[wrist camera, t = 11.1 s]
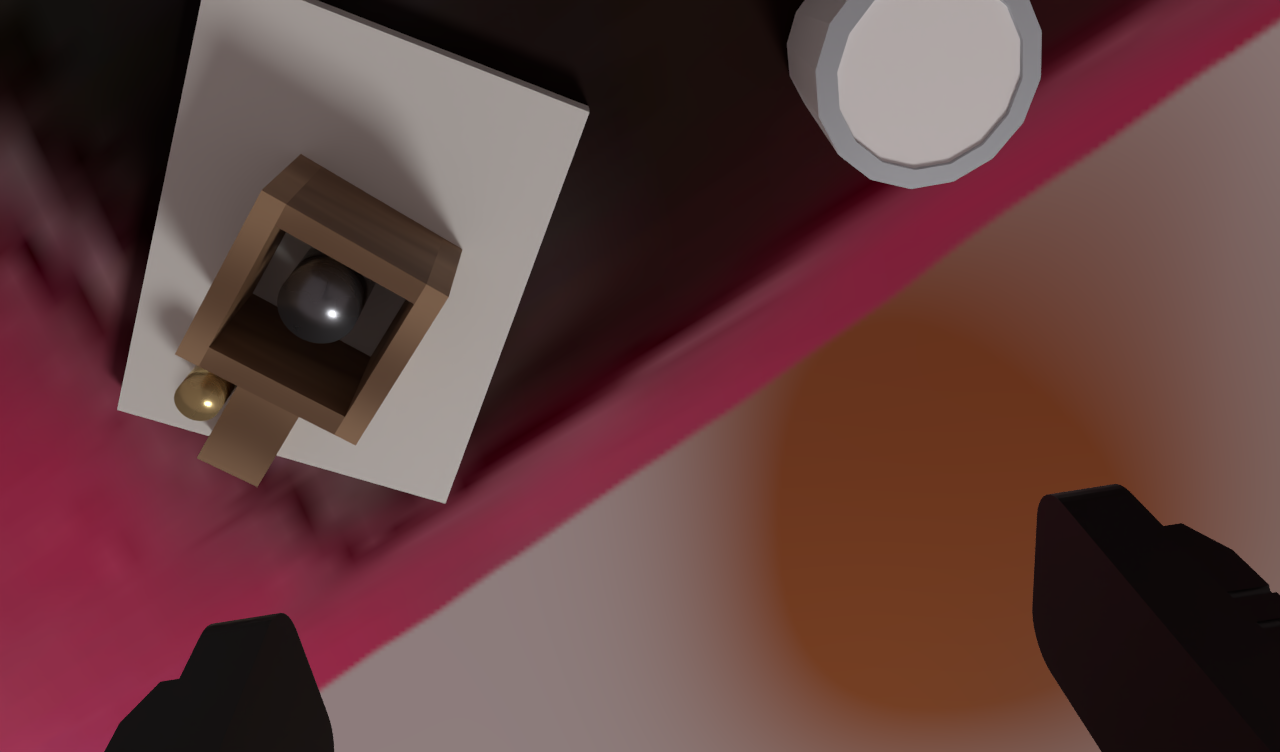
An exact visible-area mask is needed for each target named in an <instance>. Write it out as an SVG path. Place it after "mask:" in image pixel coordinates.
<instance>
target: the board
mask: <svg viewBox="0 0 1280 752" xmlns="http://www.w3.org/2000/svg"><path fill="white" fill-rule="evenodd" d="M588 115H589V107H588V106H587V105H584V104H582V103H579V102H577V101H574V100H571V99H569V98H566V97H564V96H561V95H559V94H556V93H554V92H551V91H548V90H546V89H543V88H541V87H538V86H536V85H533V84H530V83H528V82H525V81H523V80H520V79H518V78H515V77H513V76H510V75H507V74H505V73H502V72H500V71H497V70H495V69H492V68H490V67H487V66H484V65H482V64H479V63H477V62H474V61H472V60H469V59H467V58H464V57H461V56H459V55H456V54H454V53H451V52H449V51H446V50H444V49H441V48H438V47H436V46H433V45H431V44H428V43H426V42H423V41H421V40H418V39H415V38H413V37H410V36H408V35H405V34H403V33H400V32H397V31H395V30H392V29H390V28H387V27H385V26H382V25H380V24H377V23H374V22H372V21H369V20H367V19H364V18H362V17H359V16H357V15H354V14H351V13H349V12H346V11H344V10H341V9H339V8H336V7H334V6H331V5H328V4H326V3H323V2H321V1H318V0H201V4H200V9H199V14H198V19H197V23H196V28H195V33H194V38H193V43H192V48H191V53H190V58H189V62H188V67H187V72H186V77H185V82H184V87H183V92H182V96H181V101H180V106H179V111H178V116H177V121H176V126H175V131H174V135H173V140H172V145H171V150H170V155H169V160H168V165H167V170H166V174H165V179H164V184H163V189H162V194H161V199H160V204H159V209H158V213H157V218H156V223H155V228H154V233H153V238H152V243H151V247H150V252H149V257H148V262H147V267H146V272H145V277H144V282H143V286H142V291H141V296H140V301H139V306H138V311H137V316H136V321H135V325H134V330H133V335H132V340H131V345H130V350H129V355H128V359H127V364H126V369H125V374H124V379H123V384H122V389H121V394H120V398H119V403H118V408H117V410H120V411H123V412H127V413H130V414H134V415H137V416H141V417H144V418H148V419H151V420H155V421H158V422H162V423H165V424H169V425H172V426H176V427H179V428H183V429H186V430H190V431H193V432H197V433H200V434H204V435H207V436H209V435H210V434H211V432H212V430H213V428H214V427H215V425H216V423H217V421H218V419H219V418H220V416H221V414H222V412H223V411H224V409H225V407H226V405H227V403H228V402H229V400H230V398H231V396H232V395H233V393H234V391H235V389H236V387H237V386H236V387H235V389H234V390H233V392H232V393H231V395H230V396H229V398H228V399H227V401H226V402H225V403H224V405H223V406H222V408H221V409H220V411H219V412H218V414H217V415H216V416H215V417H213V418H212V419H209V420H206V421H195V420H192V419H189V418H187V417H185V416H184V415H182V414H181V413H180V412H179V410H178V409H177V407H176V405H175V402H174V394H175V391H176V390H177V388H178V387H179V386H180V384H181V383H182V382H183V381H184V379H185V378H186V377H187V376H188V374H189V373H190V372H191V371H192V370H193V368H194V367H195V366H196V365H195V364H193V363H191V362H189V361H187V360H185V359H183V358H181V357H179V356H177V355H175V353H176V351H177V349H178V347H179V345H180V343H181V342H182V340H183V338H184V336H185V334H186V332H187V330H188V328H189V326H190V324H191V323H192V321H193V319H194V317H195V315H196V313H197V311H198V309H199V307H200V306H201V304H202V302H203V300H204V298H205V296H206V294H207V292H208V290H209V289H210V287H211V285H212V283H213V281H214V279H215V277H216V275H217V273H218V271H219V270H220V268H221V266H222V264H223V262H224V260H225V258H226V256H227V254H228V253H229V251H230V249H231V247H232V245H233V243H234V241H235V239H236V237H237V236H238V234H239V232H240V230H241V228H242V226H243V224H244V222H245V220H246V218H247V217H248V215H249V213H250V211H251V209H252V207H253V205H254V203H255V201H256V200H257V198H258V196H259V194H260V192H261V190H262V189H263V188H264V187H265V186H266V185H268V184H269V183H270V182H271V181H272V180H273V179H274V178H275V177H276V176H277V175H278V174H280V173H281V172H282V171H283V170H284V169H285V168H286V167H287V166H288V165H289V164H290V163H291V162H293V161H294V160H295V159H296V158H297V157H298V156H299V155H300V154H302V155H304V156H305V157H307V158H309V159H310V160H312V161H314V162H315V163H317V164H319V165H320V166H322V167H324V168H326V169H327V170H329V171H331V172H332V173H334V174H336V175H337V176H339V177H341V178H343V179H344V180H346V181H348V182H349V183H351V184H353V185H354V186H356V187H358V188H359V189H361V190H363V191H365V192H366V193H368V194H370V195H371V196H373V197H375V198H376V199H378V200H380V201H382V202H383V203H385V204H387V205H388V206H390V207H392V208H393V209H395V210H397V211H398V212H400V213H402V214H404V215H405V216H407V217H409V218H410V219H412V220H414V221H415V222H417V223H419V224H421V225H422V226H424V227H426V228H427V229H429V230H431V231H432V232H434V233H436V234H437V235H439V236H441V237H443V238H444V239H446V240H448V241H449V242H451V243H453V244H454V245H456V246H458V247H460V248H461V249H462V253H461V256H460V260H459V263H458V267H457V270H456V274H455V277H454V280H453V284H452V287H451V291H450V294H449V297H448V299H447V301H446V302H445V304H444V305H443V307H442V309H441V310H440V312H439V313H438V315H437V317H436V318H435V320H434V321H433V323H432V324H431V326H430V328H429V329H428V331H427V332H426V334H425V336H424V337H423V339H422V340H421V342H420V344H419V345H418V347H417V348H416V350H415V352H414V353H413V355H412V356H411V358H410V360H409V361H408V363H407V364H406V366H405V368H404V369H403V371H402V372H401V374H400V376H399V377H398V379H397V380H396V382H395V384H394V385H393V387H392V388H391V390H390V392H389V393H388V395H387V396H386V398H385V399H384V401H383V403H382V404H381V406H380V407H379V409H378V411H377V412H376V414H375V415H374V417H373V419H372V420H371V422H370V423H369V425H368V427H367V428H366V430H365V431H364V433H363V435H362V436H361V438H360V439H359V441H358V443H357V444H356V446H355V445H354V444H352V443H350V442H348V441H346V440H344V439H342V438H340V437H338V436H336V435H334V434H332V433H330V432H328V431H326V430H324V429H322V428H320V427H318V426H316V425H314V424H312V423H310V422H308V421H306V420H304V419H302V418H300V417H299V418H298V419H297V421H296V423H295V424H294V426H293V428H292V429H291V431H290V433H289V434H288V436H287V438H286V440H285V441H284V443H283V445H282V446H281V448H280V450H279V451H278V453H277V456H281V457H284V458H288V459H291V460H295V461H298V462H302V463H305V464H309V465H312V466H316V467H319V468H323V469H326V470H330V471H333V472H337V473H340V474H344V475H347V476H351V477H354V478H358V479H361V480H365V481H368V482H372V483H375V484H379V485H382V486H386V487H389V488H393V489H396V490H400V491H403V492H407V493H410V494H414V495H417V496H421V497H424V498H428V499H431V500H435V501H438V502H442V503H446V500H447V498H448V495H449V492H450V489H451V487H452V484H453V481H454V479H455V476H456V473H457V470H458V468H459V465H460V462H461V460H462V457H463V454H464V451H465V449H466V446H467V443H468V441H469V438H470V435H471V432H472V430H473V427H474V424H475V422H476V419H477V416H478V413H479V411H480V408H481V405H482V403H483V400H484V397H485V394H486V392H487V389H488V386H489V384H490V381H491V378H492V375H493V373H494V370H495V367H496V364H497V362H498V359H499V356H500V354H501V351H502V348H503V345H504V343H505V340H506V337H507V335H508V332H509V329H510V326H511V324H512V321H513V318H514V316H515V313H516V310H517V307H518V305H519V302H520V299H521V297H522V294H523V291H524V288H525V286H526V283H527V280H528V278H529V275H530V272H531V269H532V267H533V264H534V261H535V259H536V256H537V253H538V250H539V248H540V245H541V242H542V240H543V237H544V234H545V231H546V229H547V226H548V223H549V220H550V218H551V215H552V212H553V210H554V207H555V204H556V201H557V199H558V196H559V193H560V191H561V188H562V185H563V182H564V180H565V177H566V174H567V172H568V169H569V166H570V163H571V161H572V158H573V155H574V153H575V150H576V147H577V144H578V142H579V139H580V136H581V134H582V131H583V128H584V125H585V123H586V120H587V117H588ZM310 248H311V246H310V245H308V244H306V243H305V242H303V241H301V240H299V239H297V238H296V237H294V236H292V235H290V234H289V233H287V232H286V233H285V235H284V237H283V239H282V240H281V242H280V244H279V246H278V248H277V250H276V251H275V253H274V255H273V257H272V259H271V261H270V262H269V264H268V266H267V268H266V270H265V272H264V273H263V275H262V277H261V279H260V281H259V283H258V284H257V286H256V288H255V290H254V292H253V294H255V295H257V296H259V297H260V298H262V299H264V300H266V301H268V302H270V303H272V304H273V305H275V306H277V298H278V294H279V291H280V289H281V287H282V285H283V284H284V282H285V281H286V280H287V278H288V277H289V276H290V274H291V273H292V272H293V270H294V269H295V268H296V266H297V265H298V264H299V262H300V261H301V260H302V258H303V257H304V256H305V254H306V253H307V252H308V250H309V249H310ZM405 300H406V299H404V298H402V297H401V296H399V295H397V294H395V293H394V292H392V291H390V290H388V289H386V288H385V287H383V286H381V285H379V284H378V283H375V286H374V288H373V290H372V292H371V294H370V296H369V298H368V300H367V302H366V304H365V306H364V308H363V310H362V312H361V314H360V316H359V318H358V320H357V322H356V324H355V325H354V327H353V329H352V330H351V331H350V332H349V333H348V334H347V335H346V336H345V337H343V338H342V339H340V340H341V341H342V342H344V343H346V344H348V345H350V346H352V347H354V348H355V349H357V350H359V351H361V352H363V353H365V354H367V355H369V356H370V357H371V356H372V354H373V352H374V351H375V349H376V347H377V346H378V344H379V342H380V341H381V339H382V337H383V336H384V334H385V333H386V331H387V329H388V328H389V326H390V324H391V323H392V321H393V319H394V318H395V316H396V315H397V313H398V311H399V310H400V308H401V306H402V305H403V303H404V301H405Z"/></svg>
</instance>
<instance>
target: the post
mask: <svg viewBox="0 0 1280 752" xmlns="http://www.w3.org/2000/svg"><path fill="white" fill-rule="evenodd" d="M375 283H376V282H374V281H372V280H370V279H369V278H367V277H365V276H363V275H362V274H360V273H358V272H356V271H354V270H353V269H351V268H349V267H347V266H345V265H344V264H342V263H340V262H338V261H337V260H335V259H333V258H331V257H329V256H328V255H326V254H324V253H322V252H321V251H319V250H317V249H315V248H313V247H312V246H311V248H310V249H309V250H308V252H307V253H306V254H305V256H304V257H303V258H302V260H301V261H300V262H299V264H298V265H297V266H296V268H295V269H294V270H293V272H292V273H291V274H290V276H289V277H288V278H287V280H286V281H285V282H284V284H283V285H282V287H281V289H280V291H279V294H278V298H277V307H278V312H279V315H280V318H281V320H282V321H283V323H284V324H285V326H286V327H287V328H288V329H289V330H290V331H291V332H292V333H293V334H295V335H296V336H298V337H299V338H301V339H303V340H306V341H309V342H313V343H331V342H335V341H338V340H340V339H342V338H343V337H345V336H346V335H347V334H348V333H349V332H350V331H351V330H352V329H353V327H354V325H355V324H356V322H357V320H358V318H359V316H360V314H361V312H362V310H363V308H364V306H365V304H366V302H367V300H368V298H369V296H370V294H371V292H372V290H373V288H374V286H375Z"/></svg>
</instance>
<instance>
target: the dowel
mask: <svg viewBox="0 0 1280 752" xmlns="http://www.w3.org/2000/svg"><path fill="white" fill-rule="evenodd" d="M236 386H237V385H235V384H233V383H231V382H229V381H227V380H225V379H223V378H221V377H219V376H217V375H215V374H213V373H211V372H209V371H207V370H205V369H203V368H201V367H199V366H197V365H196V366H195V367H194V368H193V370H192V371H191V372H190V373H189V374H188V376H187V377H186V378H185V379H184V381H183V382H182V383H181V384H180V386H179V387H178V388H177V390H176V391H175V394H174V402H175V405H176V407H177V409H178V410H179V412H180V413H181V414H182V415H184V416H185V417H187V418H189V419H192V420H195V421H206V420H209V419H212V418H213V417H215V416H216V415H217V414H218V412H219V411H220V409H221V408H222V406H223V405H224V403H225V402H226V401H227V399H228V398H229V396H230V395H231V393H232V392H233V390H234V389H235V387H236Z"/></svg>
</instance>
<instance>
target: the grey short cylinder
mask: <svg viewBox="0 0 1280 752" xmlns="http://www.w3.org/2000/svg"><path fill="white" fill-rule="evenodd" d="M1041 40H1042V31H1041V29H1040V26H1039V24H1038V21H1037V18H1036V16H1035V13H1034V11H1033V8H1032V6H1031V3H1030V1H1029V0H804V2H803V3H802V5H801V6H800V7H799V9H798V10H797V11H796V14H795V17H794V21H793V24H792V28H791V31H790V34H789V38H788V41H787V52H788V64H789V75H790V77H791V79H792V81H793V83H794V85H795V87H796V89H797V91H798V93H799V94H800V96H801V98H802V100H803V102H804V104H805V105H806V107H807V108H808V110H809V111H810V113H811V114H812V116H813V117H814V119H815V120H816V122H817V123H818V125H819V126H820V128H821V129H822V131H823V132H824V134H825V135H826V137H827V138H828V140H829V141H830V143H831V144H832V146H833V147H834V149H835V150H836V152H837V153H838V155H840V156H841V157H842V158H843V159H845V160H846V161H847V162H849V163H850V164H851V165H852V166H854V167H855V168H856V169H858V170H859V171H860V172H861V173H863V174H864V175H865V176H867V177H868V178H869V179H871V180H874V181H879V182H883V183H887V184H892V185H896V186H900V187H905V188H909V189H914V188H919V187H925V186H931V185H937V184H942V183H948V182H953V181H955V180H957V179H959V178H960V177H962V176H964V175H965V174H967V173H969V172H970V171H972V170H974V169H976V168H977V167H979V166H981V165H982V164H984V163H986V162H987V161H989V160H991V159H993V157H994V156H995V155H996V154H997V153H998V152H999V150H1000V149H1001V148H1002V147H1003V146H1004V144H1005V143H1006V142H1007V141H1008V140H1009V139H1010V137H1011V136H1012V135H1013V134H1014V133H1015V132H1016V130H1017V129H1018V128H1019V127H1020V126H1021V125H1022V123H1023V122H1024V119H1025V117H1026V114H1027V112H1028V109H1029V107H1030V104H1031V101H1032V99H1033V96H1034V94H1035V91H1036V89H1037V86H1038V84H1039V81H1040V79H1041Z"/></svg>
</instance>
